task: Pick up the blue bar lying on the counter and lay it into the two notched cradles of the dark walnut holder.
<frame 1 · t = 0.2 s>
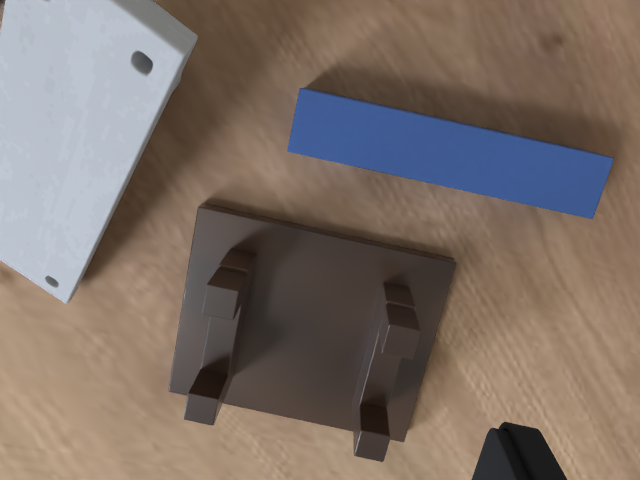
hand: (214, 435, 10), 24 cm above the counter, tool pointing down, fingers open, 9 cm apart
blue bar: (439, 148, 32), on the counter
holder: (307, 323, 35), on the counter
door handle: (31, 94, 32), on the counter
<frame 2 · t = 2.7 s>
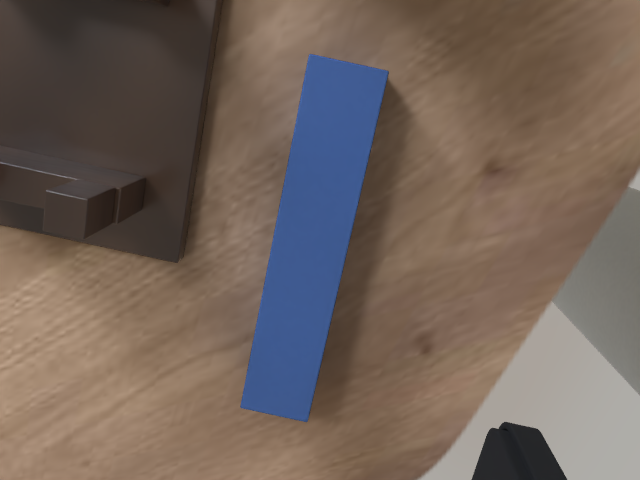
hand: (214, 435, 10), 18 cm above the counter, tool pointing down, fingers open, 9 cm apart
blue bar: (313, 235, 28), on the counter
holder: (78, 76, 26), on the counter
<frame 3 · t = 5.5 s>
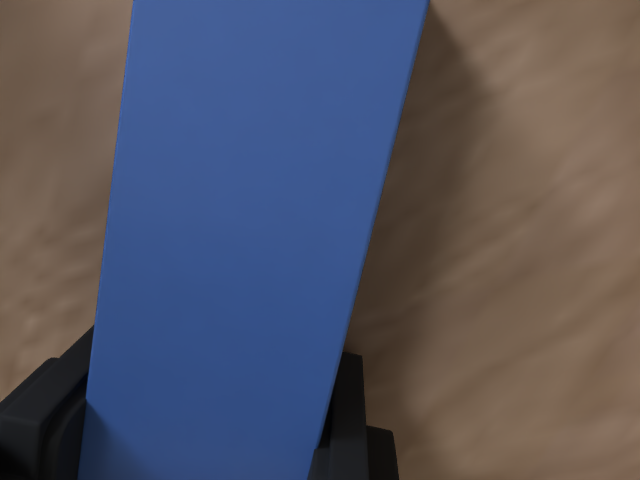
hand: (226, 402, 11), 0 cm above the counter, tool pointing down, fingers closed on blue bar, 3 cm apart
blue bar: (229, 395, 11), on the counter, touching gripper
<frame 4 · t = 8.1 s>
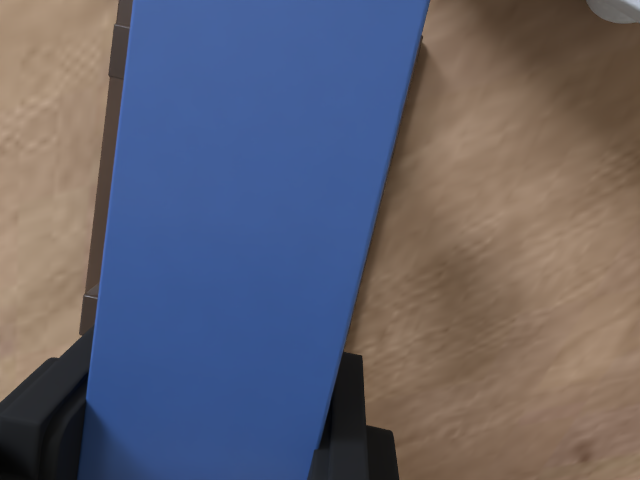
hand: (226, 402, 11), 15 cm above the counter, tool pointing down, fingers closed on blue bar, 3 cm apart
blue bar: (229, 396, 11), point 15 cm above the counter, touching gripper
holder: (243, 183, 25), on the counter
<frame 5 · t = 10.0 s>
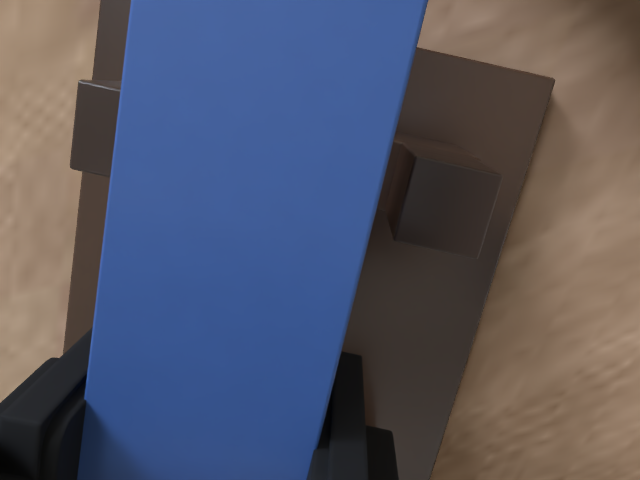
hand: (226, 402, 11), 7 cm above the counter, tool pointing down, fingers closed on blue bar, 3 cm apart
blue bar: (229, 396, 11), point 7 cm above the counter, touching gripper
holder: (278, 283, 18), on the counter
when the fingers open (4 cm above the counter, at t = 11.0 s): blue bar stays where it is, resting on holder.
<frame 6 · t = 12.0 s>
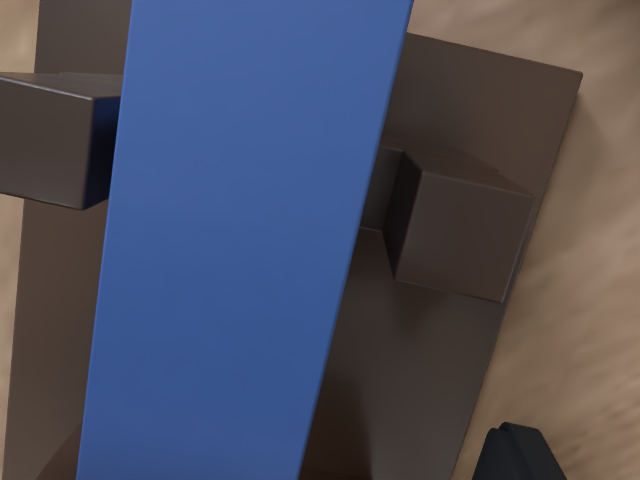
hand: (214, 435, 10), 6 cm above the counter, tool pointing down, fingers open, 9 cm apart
blue bar: (226, 384, 11), point 4 cm above the counter, touching holder
holder: (258, 309, 15), on the counter
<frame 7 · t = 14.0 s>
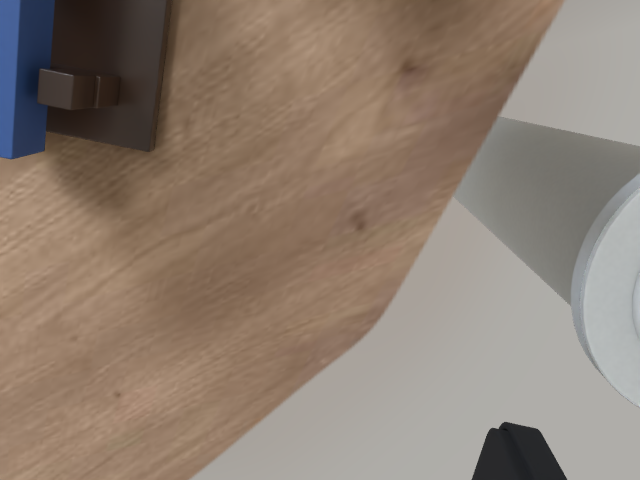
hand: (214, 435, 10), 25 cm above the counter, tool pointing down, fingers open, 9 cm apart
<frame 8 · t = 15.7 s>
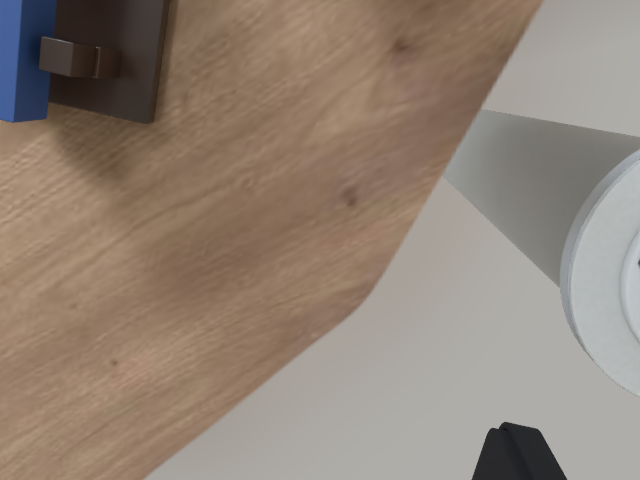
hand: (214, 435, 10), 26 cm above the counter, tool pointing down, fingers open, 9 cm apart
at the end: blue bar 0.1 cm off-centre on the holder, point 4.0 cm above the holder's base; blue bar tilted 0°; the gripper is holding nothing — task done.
